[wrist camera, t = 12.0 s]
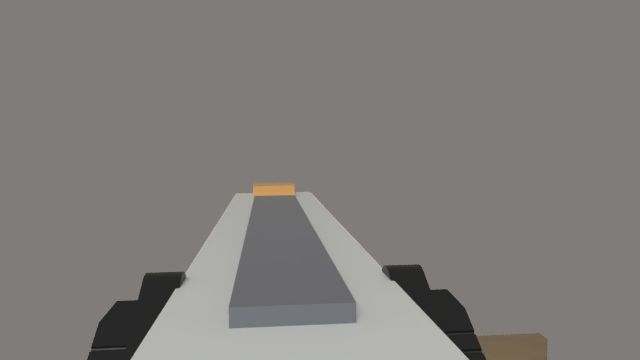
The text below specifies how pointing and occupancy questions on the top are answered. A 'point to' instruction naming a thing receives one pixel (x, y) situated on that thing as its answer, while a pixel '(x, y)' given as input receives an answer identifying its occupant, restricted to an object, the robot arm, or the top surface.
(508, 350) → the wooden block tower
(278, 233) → the power strip
